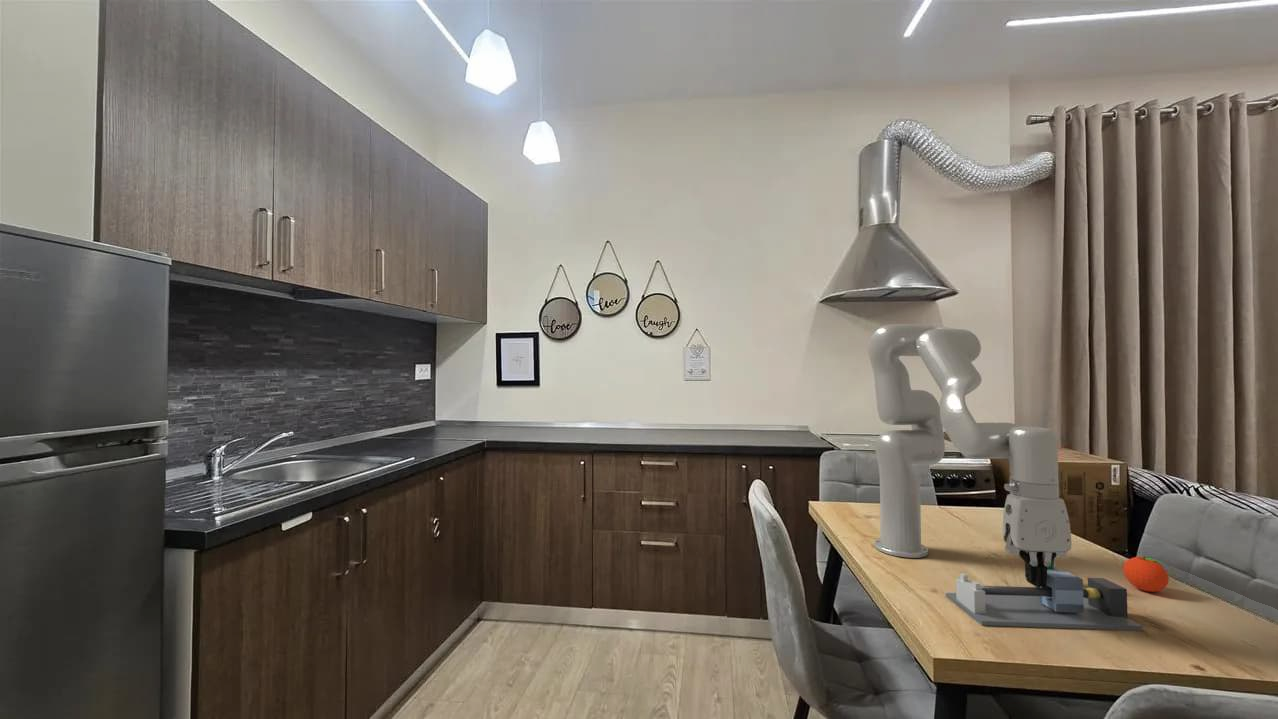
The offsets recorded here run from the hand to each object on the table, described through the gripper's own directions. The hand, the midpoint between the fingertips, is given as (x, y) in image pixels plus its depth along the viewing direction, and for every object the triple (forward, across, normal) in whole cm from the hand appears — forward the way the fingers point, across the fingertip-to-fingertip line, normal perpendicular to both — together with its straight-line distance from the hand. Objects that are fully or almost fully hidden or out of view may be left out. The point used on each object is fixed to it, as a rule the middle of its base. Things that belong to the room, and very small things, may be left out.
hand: (1036, 584), depth 96 cm
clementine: (+6, +31, +12) cm, 34 cm away
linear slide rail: (+5, 0, 0) cm, 5 cm away
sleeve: (+4, +4, 0) cm, 6 cm away
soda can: (+6, +11, +15) cm, 20 cm away
